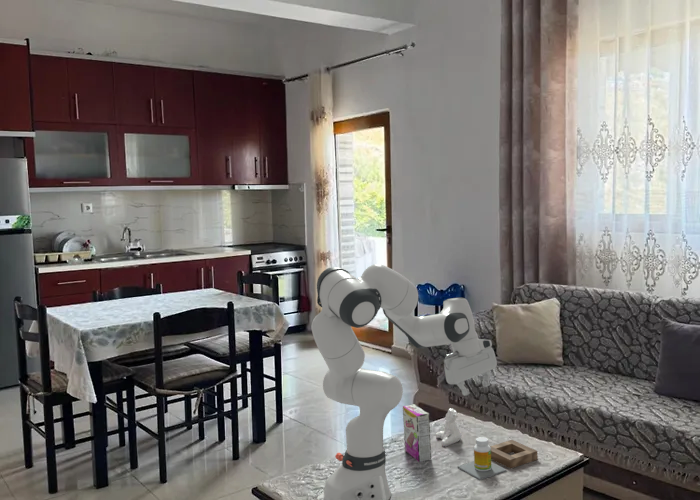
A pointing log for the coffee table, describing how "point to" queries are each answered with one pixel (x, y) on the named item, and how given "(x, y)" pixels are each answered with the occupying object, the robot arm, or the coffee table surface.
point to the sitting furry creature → (450, 429)
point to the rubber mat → (480, 475)
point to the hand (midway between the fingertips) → (476, 390)
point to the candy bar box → (417, 432)
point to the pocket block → (519, 458)
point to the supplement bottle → (482, 454)
